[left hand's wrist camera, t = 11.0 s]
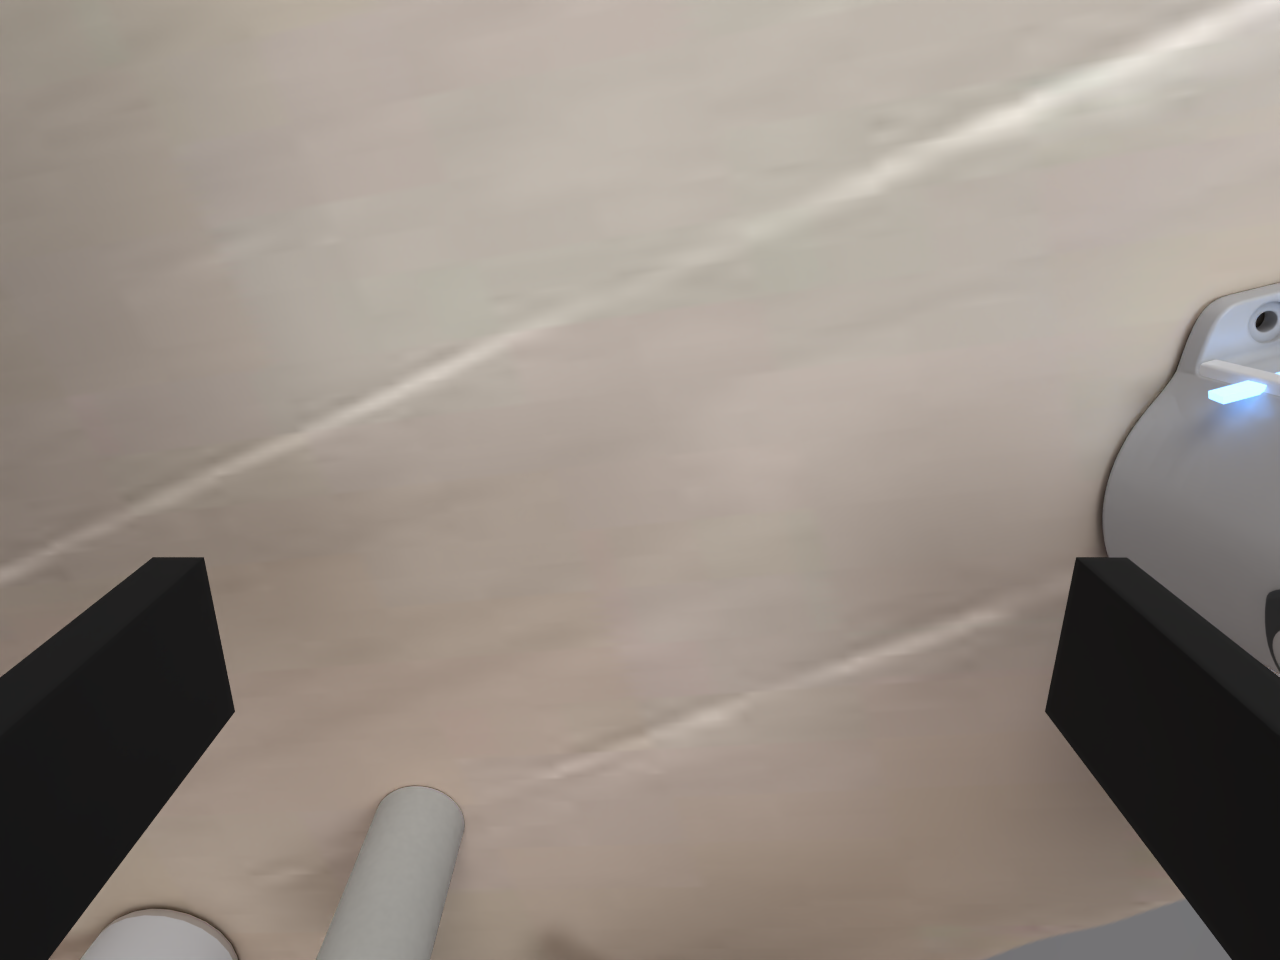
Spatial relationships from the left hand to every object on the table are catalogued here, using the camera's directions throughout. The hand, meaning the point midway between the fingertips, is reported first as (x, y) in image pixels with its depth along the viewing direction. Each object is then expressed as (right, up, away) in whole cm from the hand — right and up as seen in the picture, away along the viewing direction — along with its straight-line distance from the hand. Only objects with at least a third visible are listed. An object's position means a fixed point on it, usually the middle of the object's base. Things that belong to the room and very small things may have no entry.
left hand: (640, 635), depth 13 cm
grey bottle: (-12, -16, +31) cm, 37 cm away
